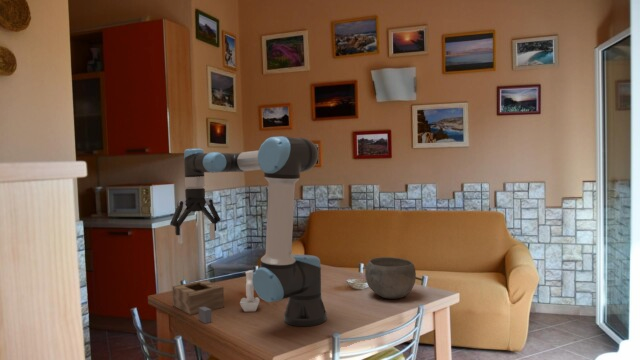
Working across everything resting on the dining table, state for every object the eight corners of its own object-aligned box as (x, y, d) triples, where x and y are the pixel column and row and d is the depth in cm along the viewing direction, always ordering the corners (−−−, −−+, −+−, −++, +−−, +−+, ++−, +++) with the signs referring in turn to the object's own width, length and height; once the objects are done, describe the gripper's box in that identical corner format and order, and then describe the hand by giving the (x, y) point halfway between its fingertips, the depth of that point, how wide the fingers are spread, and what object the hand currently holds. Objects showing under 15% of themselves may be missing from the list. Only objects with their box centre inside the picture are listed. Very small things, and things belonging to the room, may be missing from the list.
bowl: (426, 299, 185) (425, 262, 184) (381, 306, 177) (380, 267, 177) (398, 287, 204) (398, 254, 204) (357, 293, 196) (356, 258, 196)
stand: (211, 321, 163) (211, 309, 163) (205, 323, 161) (204, 310, 161) (205, 318, 167) (204, 306, 167) (198, 320, 165) (198, 307, 165)
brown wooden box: (223, 307, 180) (223, 287, 180) (190, 315, 171) (189, 294, 171) (205, 299, 192) (204, 280, 192) (173, 306, 183) (172, 286, 183)
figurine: (239, 313, 171) (238, 274, 171) (242, 306, 181) (241, 268, 181) (259, 313, 172) (258, 273, 172) (260, 305, 181) (259, 268, 181)
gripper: (218, 186, 191) (220, 236, 192) (160, 189, 175) (162, 244, 176) (227, 186, 186) (229, 238, 186) (168, 189, 169) (169, 246, 170)
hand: (196, 241), depth 181 cm, fingers open, 13 cm apart
